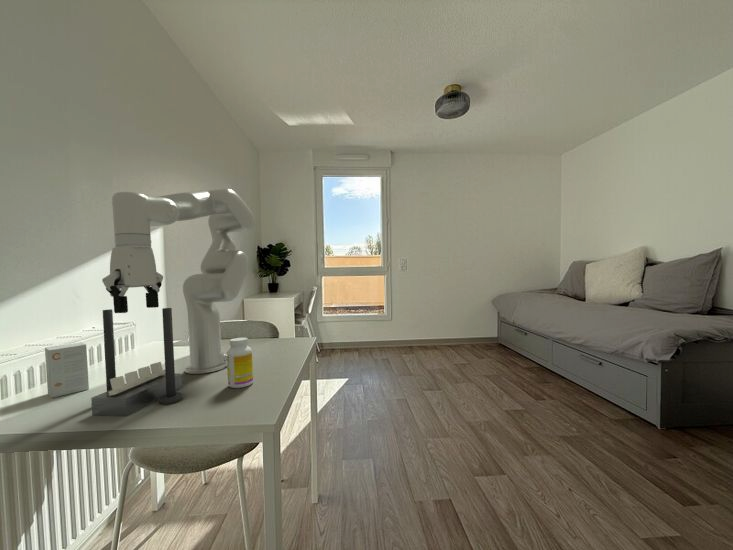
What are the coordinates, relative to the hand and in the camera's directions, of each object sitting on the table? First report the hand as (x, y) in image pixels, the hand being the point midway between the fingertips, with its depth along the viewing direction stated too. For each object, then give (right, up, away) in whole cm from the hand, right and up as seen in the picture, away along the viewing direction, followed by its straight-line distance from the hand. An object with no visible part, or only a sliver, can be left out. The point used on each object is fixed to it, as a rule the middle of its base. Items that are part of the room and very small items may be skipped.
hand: (137, 309), depth 85 cm
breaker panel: (+1, -23, 0) cm, 23 cm away
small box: (-26, -24, +9) cm, 36 cm away
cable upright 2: (+9, -23, -1) cm, 24 cm away
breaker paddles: (+1, -19, 0) cm, 19 cm away
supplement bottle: (+23, -22, +9) cm, 33 cm away
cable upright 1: (-7, -23, +1) cm, 24 cm away
